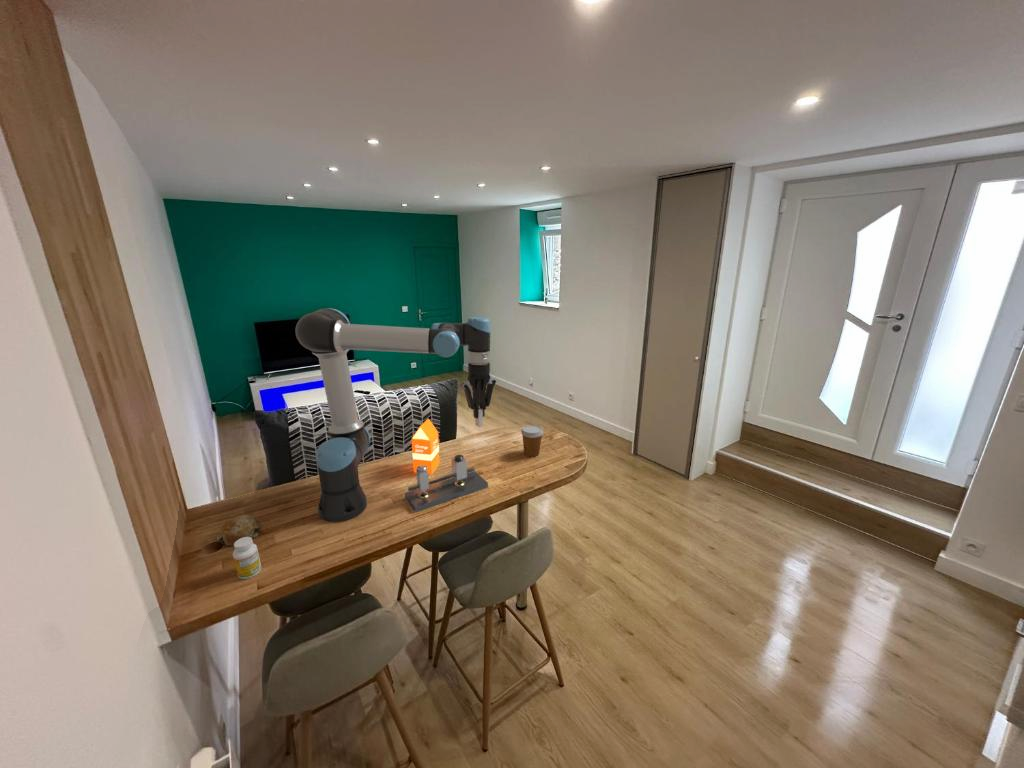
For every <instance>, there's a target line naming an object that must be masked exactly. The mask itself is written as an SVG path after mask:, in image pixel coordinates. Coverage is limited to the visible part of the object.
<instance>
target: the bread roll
mask: <svg viewBox="0 0 1024 768" xmlns="http://www.w3.org/2000/svg"><path fill="white" fill-rule="evenodd" d="M259 530H260V522H259V520H258V519H257V518H256V517H253V516H252V515H247V514H242V515H238V516H235V517H233V518H231V519H229V520H227V521H226V522H224V524H223V525H222V526H221V527H220V528H219V530H218V532H217V537H216V539H217V541H218V542H221V544H222V545H225V546H228V547H231V546H232V547H234V543H235V542H236V541H237V540H239V539H240V538H243V537H251V538H252V540H253V539H255V538H257V537H258V535H259Z"/></svg>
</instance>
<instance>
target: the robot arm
mask: <svg viewBox="0 0 1024 768" xmlns="http://www.w3.org/2000/svg"><path fill="white" fill-rule="evenodd" d="M295 337H296V339H297V341H298V342H299V344H300V345H301V346H302V347H304V349H307V350H309V351H311V353H312V355H315V356H316V357H317V358H318V363H319V367H320V368H319V369H320V372H321V376H322V382H323V387H324V392H325V396H326V401H327V406H328V410H329V411H328V412H329V416H330V420H331V425H330V426H329V428H328V435H329V439H328V440H327V441H324V442H322V443H321V444H320V445H319V446H318V447H317V449H316V452H315V455H316V457H315V459H316V460H315V461H316V465H317V471H318V472H317V473H318V478H319V485H320V491H321V492H320V496H319V501H318V506H317V511H318V516H319V518H320V519H321V520H323V521H326V522H330V523H331V522H332V523H340V522H345V521H348V520H351V519H354V518H356V517H358V516H359V515H361V514H362V513H363V512H364V511H365V510H366V508H367V507H368V500H367V498H368V497H367V495H366V494H365V492H364V490H363V487H362V486H361V484H360V478H359V477H360V476H359V465H360V463H361V461H362V460H363V458H364V456H365V454H366V453H367V452H368V449H369V447H370V444H371V435H370V432H369V430H368V429H367V428H366V427H365V424H364V421H363V420H361V419H359V416H358V411H357V410H358V409H357V405H356V399H355V395H354V394H355V393H354V388H353V384H352V383H353V382H352V378H351V377H352V376H351V373H350V367H349V366H350V365H349V361H348V356H347V353H348V352H349V351H350V350H351V351H352V350H353V351H369V352H370V351H372V352H373V351H377V352H391V353H392V352H394V353H395V352H396V353H412V354H413V353H416V354H433V355H435V354H436V355H438V356H439V357H441V358H450V357H452V356H454V355H455V354H457V352H458V350H459V348H460V346H463V347H466V346H467V361H468V364H467V372H468V373H467V374H468V376H467V379H466V380H467V381H465V382H463V383H461V387H462V389H463V391H464V395H465V399H466V402H467V407H468V408H469V409H471V410H472V411H473V413H472V414H473V416H472V417H473V418H474V419H475V423H474V424H475V426H477V427H478V428H482V427H483V419H484V417H485V410H487V407H490V405H491V400H492V395H493V392H494V387H495V385H496V383H497V380H495V379H493V378H491V375H490V372H491V364H490V361H491V358H490V357H491V321H490V319H489V318H488V317H485V316H469V317H468V318H467V322H465V323H461V322H459V323H458V322H456V323H455V322H436V323H432V325H431V328H427V327H426V328H425V327H409V326H408V327H407V326H389V325H375V324H374V325H373V324H357V323H356V324H355V323H350V320H349V318H348V317H347V315H346V314H345V313H343V312H342V311H340V310H338V309H335V308H331V307H329V308H320V309H318V310H315V311H313V312H311V313H306V314H305V315H303V316H302V317H301V318H300V319H299V320H298V322H297V323H296V326H295ZM470 388H471V389H470ZM471 390H472V391H471Z"/></svg>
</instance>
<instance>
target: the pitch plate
mask: <svg viewBox="0 0 1024 768" xmlns="http://www.w3.org/2000/svg"><path fill="white" fill-rule="evenodd" d="M488 488H489V483H488V481H487V480H486V479H484V477H482V476H481V475H480V474H479V473H477V471H476V468H475V467H474V466H472V467H469V468H468V467H467V478H464V479H461V482H458V480H456V479H455V478H454V477H453V476H452V473H449V474H445V475H442V476H439V477H436V478H433V479H430V480H429V474H428V470H427V466H425V465H420V466H418V467H417V469H416V484H413V485H410V486H408V487H407V490H408V491H407V492H404V500H406V502H407V503H408V504H409V506H410V507H411V508H412V510H413V511H414V513H418V512H421V511H425V510H426V509H427V510H428V509H430V508H433V507H436V506H439V505H441V504H444V503H447V502H451V501H452V500H456V499H459V498H462V497H465V496H468V495H470V494H473V493H476V492H479V491H481V490H482V491H483V490H484V489H485V490H486V489H488Z"/></svg>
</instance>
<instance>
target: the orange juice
mask: <svg viewBox="0 0 1024 768" xmlns="http://www.w3.org/2000/svg"><path fill="white" fill-rule="evenodd" d="M411 449H412V453H411V454H412V466H413V473H416V469H417V467H418V466H420V465H425V466H427V470H428V475H433V474H434V472H435V471H436V469H437V468H438V466H439V465H440V445H439V431H438V430H437V429H436V427H435V425H434V424H433V423H432V421H431V420H430V419H429V418H427V419H426V420H425V421H424V422H423V423H422V424H421V425H420V426H419V427H418V429H417V431H415V433H414V435H413V436H412V437H411ZM416 474H417V473H416Z"/></svg>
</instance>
